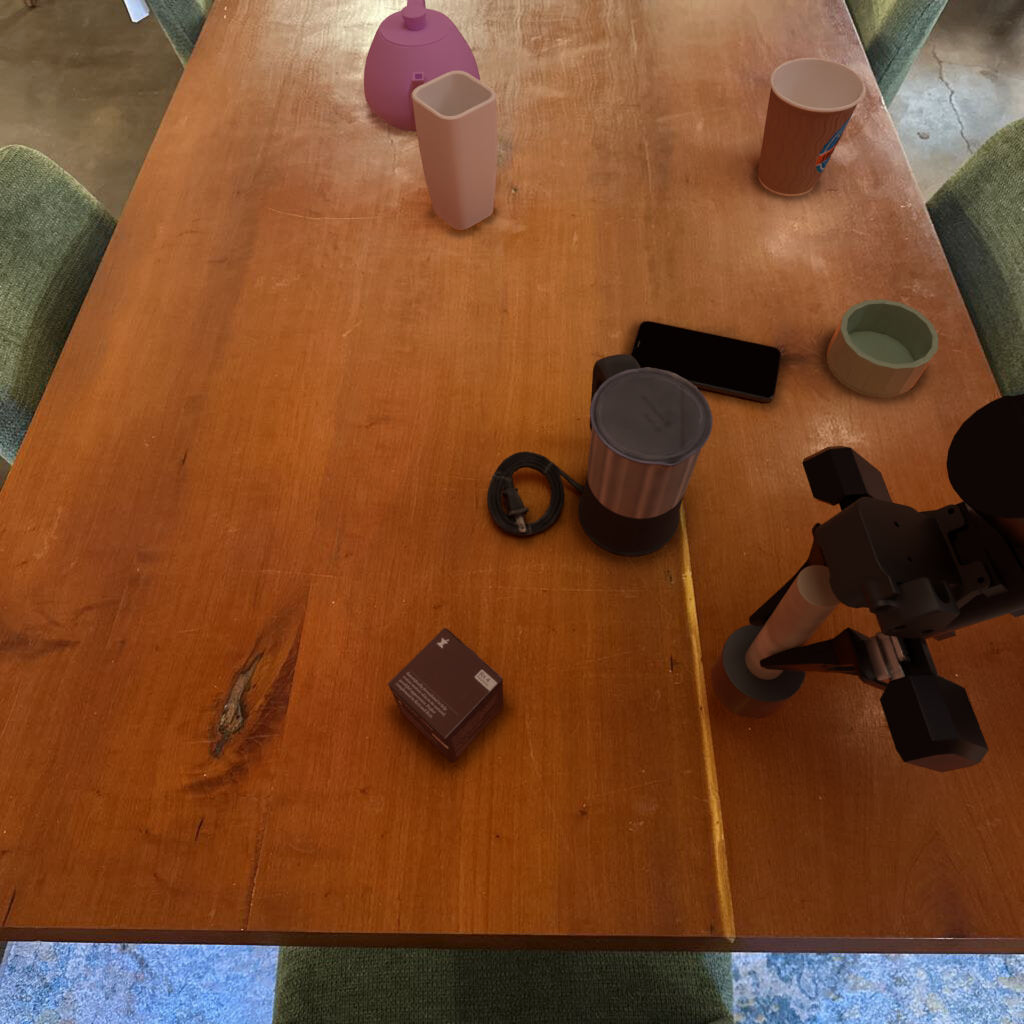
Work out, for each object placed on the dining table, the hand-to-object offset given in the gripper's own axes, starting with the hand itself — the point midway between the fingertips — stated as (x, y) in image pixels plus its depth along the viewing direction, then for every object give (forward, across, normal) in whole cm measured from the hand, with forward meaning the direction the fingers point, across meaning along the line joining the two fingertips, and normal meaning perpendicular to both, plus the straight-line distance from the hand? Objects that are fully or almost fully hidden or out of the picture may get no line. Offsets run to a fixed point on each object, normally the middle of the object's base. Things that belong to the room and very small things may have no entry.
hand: (757, 643), depth 49 cm
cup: (+22, -62, -3) cm, 66 cm away
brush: (+4, 0, +6) cm, 8 cm away
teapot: (+25, -85, -6) cm, 89 cm away
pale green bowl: (-7, -34, +26) cm, 44 cm away
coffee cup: (-6, -64, +26) cm, 70 cm away
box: (+24, -1, -5) cm, 25 cm away
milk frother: (+15, -19, +4) cm, 25 cm away
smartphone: (+5, -36, +14) cm, 39 cm away
